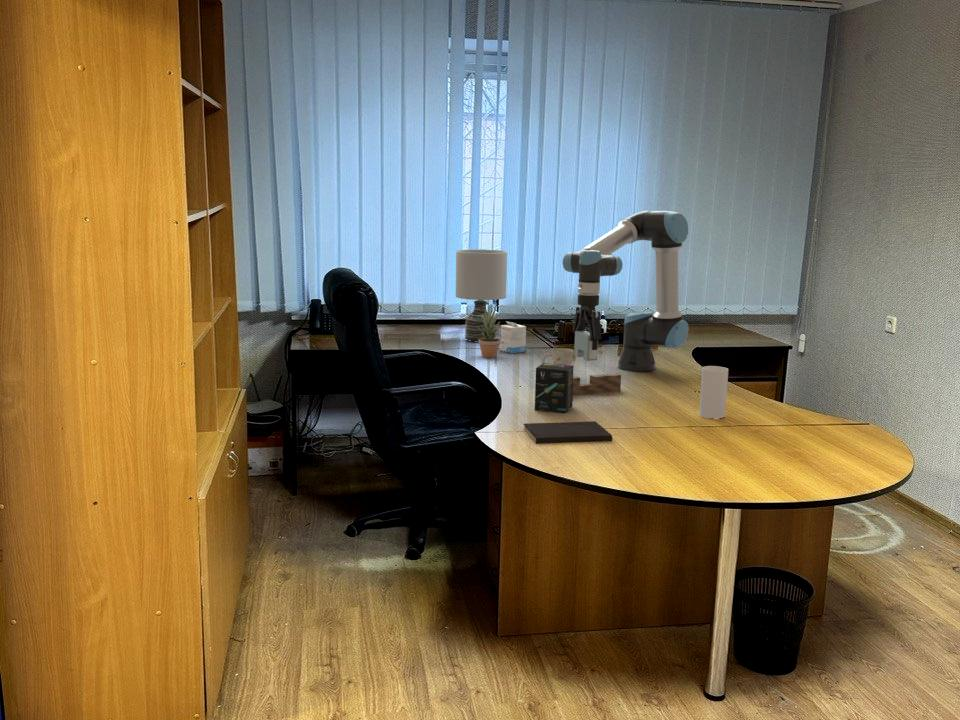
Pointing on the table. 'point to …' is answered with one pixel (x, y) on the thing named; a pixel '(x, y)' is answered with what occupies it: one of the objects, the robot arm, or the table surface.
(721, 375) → the cup
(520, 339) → the white box
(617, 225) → the robot arm
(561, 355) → the mug
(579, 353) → the blue-grey notched block
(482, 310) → the lamp
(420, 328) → the table surface
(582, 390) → the walnut rail
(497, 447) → the table surface
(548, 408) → the tampon box
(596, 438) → the hardcover book
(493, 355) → the potted plant
